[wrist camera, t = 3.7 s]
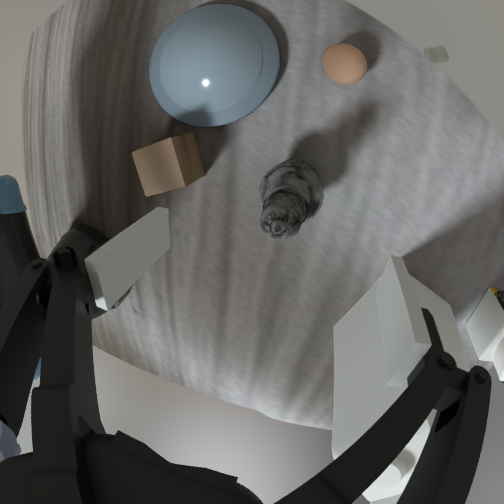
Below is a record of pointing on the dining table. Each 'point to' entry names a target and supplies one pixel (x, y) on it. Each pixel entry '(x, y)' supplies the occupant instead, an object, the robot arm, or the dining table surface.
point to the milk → (380, 384)
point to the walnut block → (169, 164)
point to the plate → (214, 65)
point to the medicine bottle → (489, 329)
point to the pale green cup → (436, 54)
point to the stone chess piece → (289, 198)
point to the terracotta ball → (344, 63)
